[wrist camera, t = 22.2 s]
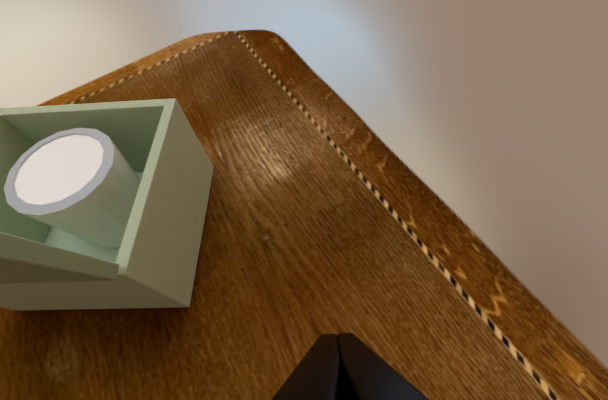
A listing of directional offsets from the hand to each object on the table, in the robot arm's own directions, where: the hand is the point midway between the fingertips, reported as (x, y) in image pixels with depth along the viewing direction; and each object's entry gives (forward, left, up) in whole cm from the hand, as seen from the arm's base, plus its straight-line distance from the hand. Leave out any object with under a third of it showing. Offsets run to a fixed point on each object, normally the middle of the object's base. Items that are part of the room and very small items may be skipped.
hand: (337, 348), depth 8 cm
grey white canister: (+10, +18, -13) cm, 24 cm away
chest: (+8, +18, -13) cm, 24 cm away
